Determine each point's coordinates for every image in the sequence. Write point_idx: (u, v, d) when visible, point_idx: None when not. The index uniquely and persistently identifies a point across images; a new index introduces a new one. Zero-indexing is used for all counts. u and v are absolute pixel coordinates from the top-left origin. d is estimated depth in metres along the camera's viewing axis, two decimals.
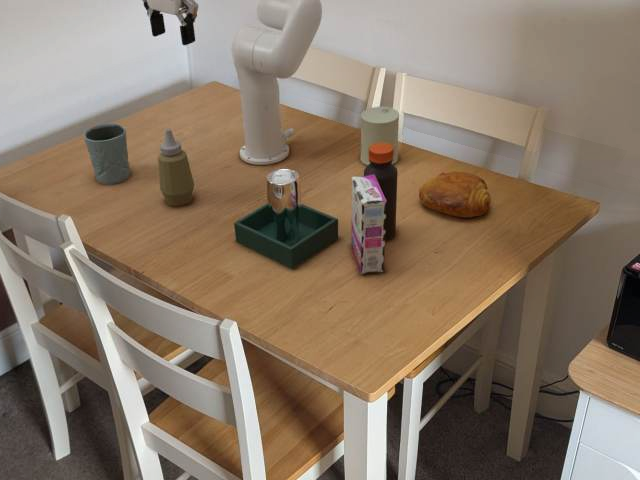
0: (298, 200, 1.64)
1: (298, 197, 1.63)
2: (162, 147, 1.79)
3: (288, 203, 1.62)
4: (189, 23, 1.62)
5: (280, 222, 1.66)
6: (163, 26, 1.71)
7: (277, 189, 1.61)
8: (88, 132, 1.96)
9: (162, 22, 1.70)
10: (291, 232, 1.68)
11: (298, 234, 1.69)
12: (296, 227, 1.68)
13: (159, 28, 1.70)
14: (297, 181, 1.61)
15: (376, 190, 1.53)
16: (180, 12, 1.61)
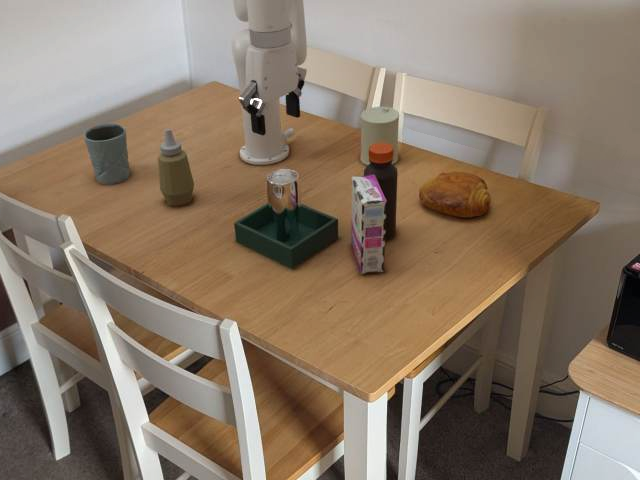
0: (298, 200, 1.64)
1: (298, 197, 1.63)
2: (162, 147, 1.79)
3: (288, 203, 1.62)
4: None
5: (280, 222, 1.66)
6: None
7: (277, 189, 1.61)
8: (88, 132, 1.96)
9: None
10: (291, 232, 1.68)
11: (298, 234, 1.69)
12: (296, 227, 1.68)
13: None
14: (297, 181, 1.61)
15: (376, 190, 1.53)
16: None
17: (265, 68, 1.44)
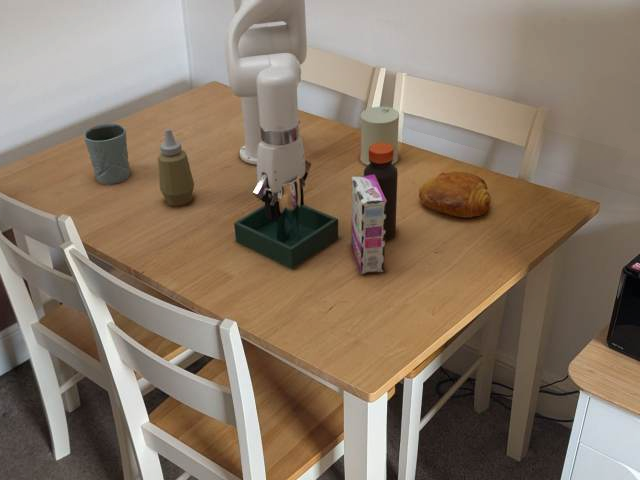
0: (298, 200, 1.64)
1: (298, 197, 1.63)
2: (162, 147, 1.79)
3: (288, 203, 1.62)
4: None
5: (280, 222, 1.66)
6: None
7: None
8: (88, 132, 1.96)
9: None
10: (291, 232, 1.68)
11: (298, 234, 1.69)
12: (296, 227, 1.68)
13: None
14: (297, 181, 1.61)
15: (376, 190, 1.53)
16: None
17: (275, 162, 1.56)
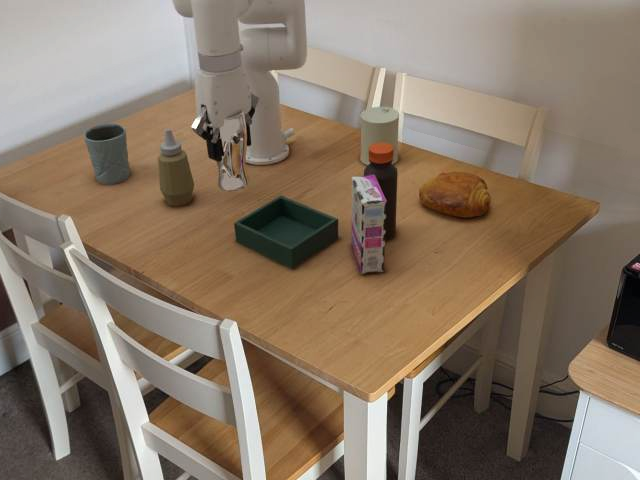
0: (243, 138, 1.47)
1: (243, 134, 1.47)
2: (162, 147, 1.79)
3: (232, 141, 1.46)
4: None
5: (224, 163, 1.49)
6: None
7: None
8: (88, 132, 1.96)
9: None
10: (237, 175, 1.51)
11: (246, 178, 1.53)
12: (243, 170, 1.52)
13: None
14: (241, 116, 1.45)
15: (376, 190, 1.53)
16: None
17: (215, 92, 1.39)
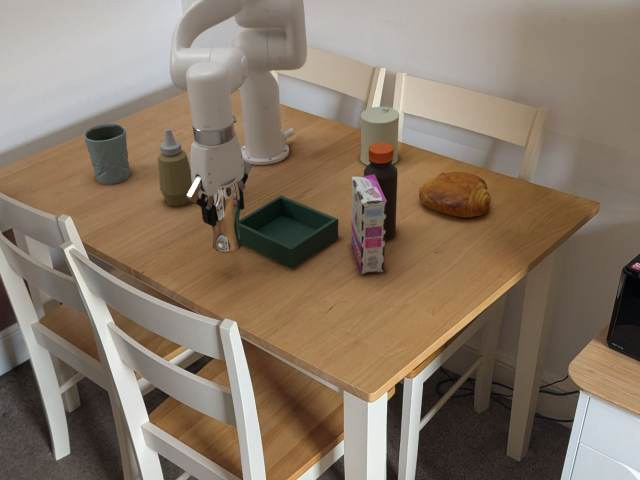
0: (237, 204, 1.53)
1: (236, 201, 1.53)
2: (162, 147, 1.79)
3: (226, 207, 1.52)
4: None
5: (218, 227, 1.56)
6: None
7: None
8: (88, 132, 1.96)
9: None
10: (231, 238, 1.58)
11: (239, 240, 1.59)
12: (236, 232, 1.58)
13: None
14: (235, 184, 1.51)
15: (376, 190, 1.53)
16: None
17: (209, 164, 1.46)
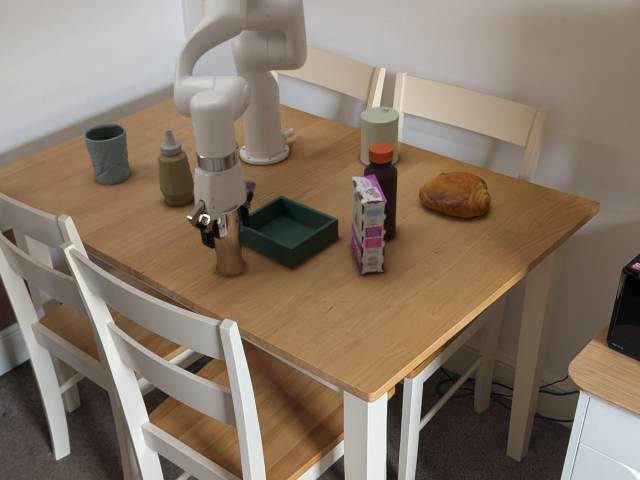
0: (239, 229, 1.57)
1: (239, 226, 1.57)
2: (162, 147, 1.79)
3: (229, 233, 1.56)
4: None
5: (221, 251, 1.59)
6: None
7: None
8: (88, 132, 1.96)
9: None
10: (234, 262, 1.61)
11: (242, 263, 1.63)
12: (239, 256, 1.62)
13: None
14: (238, 210, 1.55)
15: (376, 190, 1.53)
16: None
17: (212, 190, 1.49)
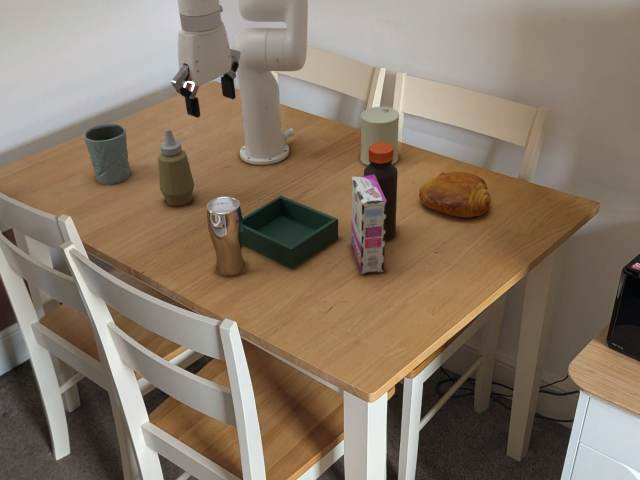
0: (239, 229, 1.57)
1: (239, 226, 1.57)
2: (162, 147, 1.79)
3: (229, 233, 1.56)
4: None
5: (221, 251, 1.59)
6: None
7: (216, 218, 1.54)
8: (88, 132, 1.96)
9: None
10: (234, 262, 1.61)
11: (242, 263, 1.63)
12: (239, 256, 1.62)
13: None
14: (238, 210, 1.55)
15: (376, 190, 1.53)
16: None
17: (196, 51, 1.47)
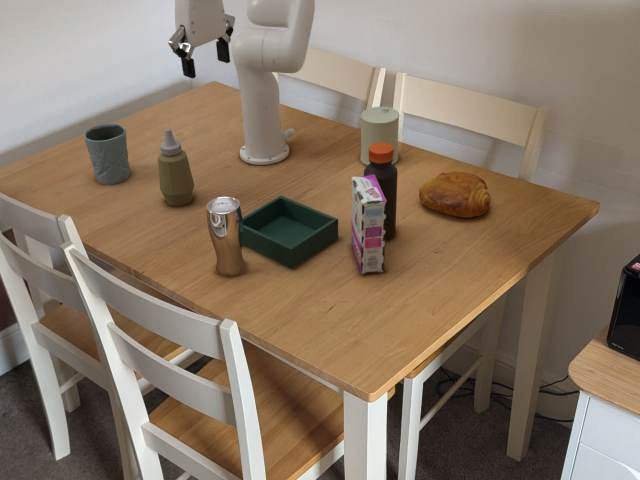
0: (239, 229, 1.57)
1: (239, 226, 1.57)
2: (162, 147, 1.79)
3: (229, 233, 1.56)
4: None
5: (221, 251, 1.59)
6: None
7: (216, 218, 1.54)
8: (88, 132, 1.96)
9: None
10: (234, 262, 1.61)
11: (242, 263, 1.63)
12: (239, 256, 1.62)
13: None
14: (238, 210, 1.55)
15: (376, 190, 1.53)
16: None
17: (192, 13, 1.54)
